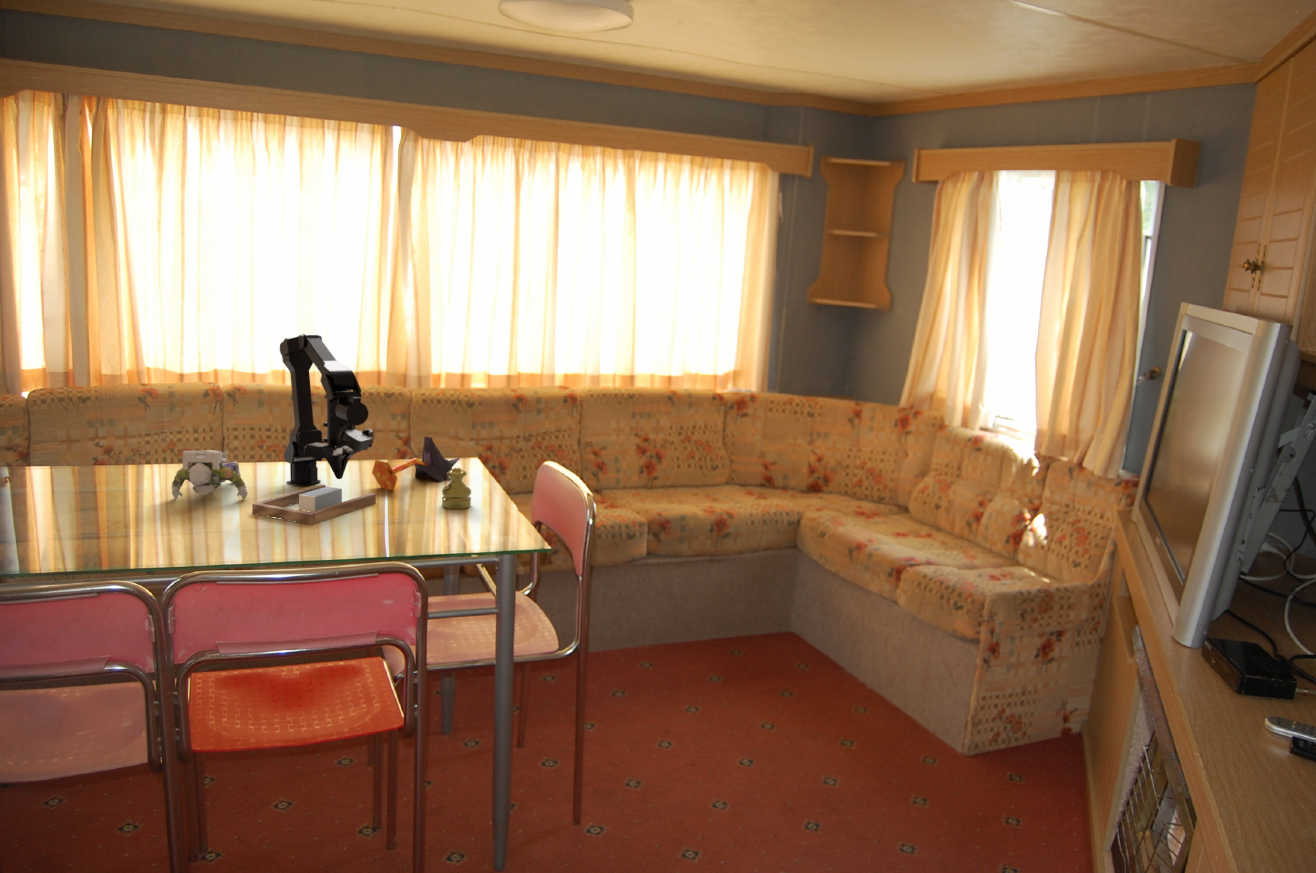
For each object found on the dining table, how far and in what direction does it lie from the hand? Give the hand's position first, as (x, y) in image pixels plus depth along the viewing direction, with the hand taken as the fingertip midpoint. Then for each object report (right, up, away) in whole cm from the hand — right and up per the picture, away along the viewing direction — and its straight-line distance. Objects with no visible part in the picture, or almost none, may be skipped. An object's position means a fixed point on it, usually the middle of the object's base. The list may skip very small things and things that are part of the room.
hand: (339, 478), depth 235 cm
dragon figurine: (+13, -2, +25) cm, 29 cm away
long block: (-1, -4, -1) cm, 4 cm away
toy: (-32, -5, -1) cm, 32 cm away
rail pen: (-3, -7, -6) cm, 10 cm away
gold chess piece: (+29, -7, +3) cm, 30 cm away
